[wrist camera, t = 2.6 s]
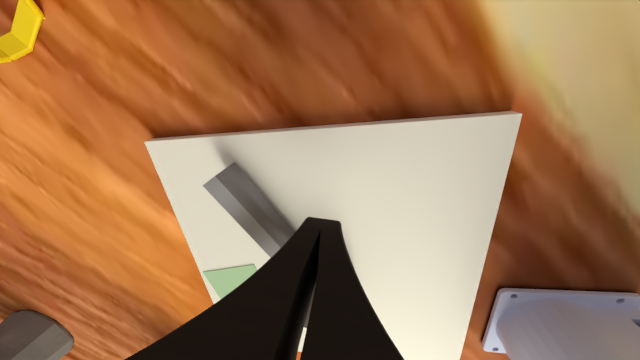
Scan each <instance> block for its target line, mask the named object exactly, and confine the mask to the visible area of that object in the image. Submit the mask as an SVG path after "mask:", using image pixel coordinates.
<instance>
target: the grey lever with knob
mask: <svg viewBox="0 0 640 360" xmlns="http://www.w3.org/2000/svg"><path fill="white" fill-rule="evenodd" d="M203 187H204V188H205V189H206V190H207V191H208V192H209V193H210V194H211V195H212V196H213V197H214V198H215V199H216V200H217V202H218V203H219V204H220V205H221V206H222V207H223V208H224V209H225V210H226V211H227V212H228V213H229V214H230V215H231V216H232V217H233V218H234V219H235V221H236V222H237V223H238V224H239V225H240V226H241V227H242V228H243V229H244V230H245V231H246V232H247V233H248V234H249V235H250V236H251V237H252V239H253V240H254V241H255V242H256V243H257V244H258V245H259V246H260V247H261V248H262V249H263V250H264V251H265V252H266V253H267V254H268V255H269V256H270V258H271V257H272V256H273V255H274V254H275V253H276V252H277V251H278V250H279V249H280V248H281V247H282V246H283V245H284V244H285V243H286V242H287V241H288V240H289V239H290V238H291V236H292V235H293V234H294V233H295V231H294V230H293V229H292V228H291V227H290V226H289V224H288V223H287V222H286V221H285V220H284V219H283V217H282V216H281V215H280V214H279V213H278V212H277V211H276V209H275V208H274V207H273V206H272V205H271V204H270V202H269V201H268V200H267V199H266V198H265V197H264V195H263V194H262V193H261V192H260V191H259V190H258V189H257V187H256V186H255V185H254V184H253V183H252V182H251V180H250V179H249V178H248V177H247V176H246V175H245V173H244V172H243V171H242V170H241V169H240V168H239V167H238V165H237V164H236V163H235V162H233V163H232V164H231V165H229V166H228V167H227V168H225V169H224V170H222V171H221V172H220V173H218V174H217V175H216V176H214V177H213V178H212V179H210V180H209V181H208V182H206V183H205V184H204V185H203ZM315 286H316V283H315ZM314 291H315V287H314ZM314 291H313V295H312V298H311V302H310V306H309V309H308V313H307V317H306V321H305V324H304V327H305V328H307V325H308V320H309V316H310V311H311V306H312V301H313V296H314Z"/></svg>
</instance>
